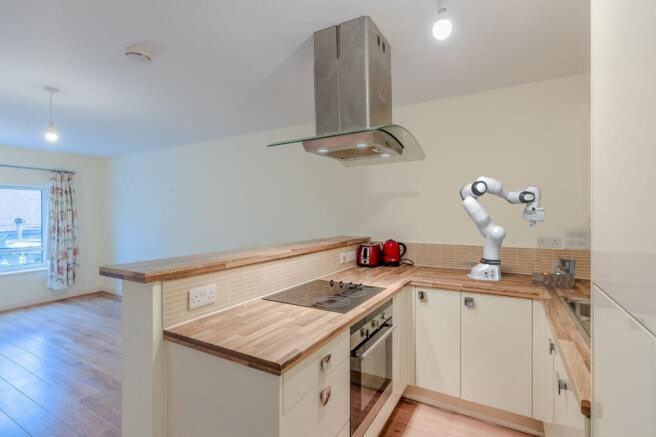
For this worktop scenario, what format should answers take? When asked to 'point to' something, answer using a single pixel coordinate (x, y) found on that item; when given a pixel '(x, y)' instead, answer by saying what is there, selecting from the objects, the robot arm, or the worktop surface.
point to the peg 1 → (546, 273)
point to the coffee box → (565, 266)
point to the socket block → (553, 281)
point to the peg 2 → (558, 273)
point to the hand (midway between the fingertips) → (532, 226)
